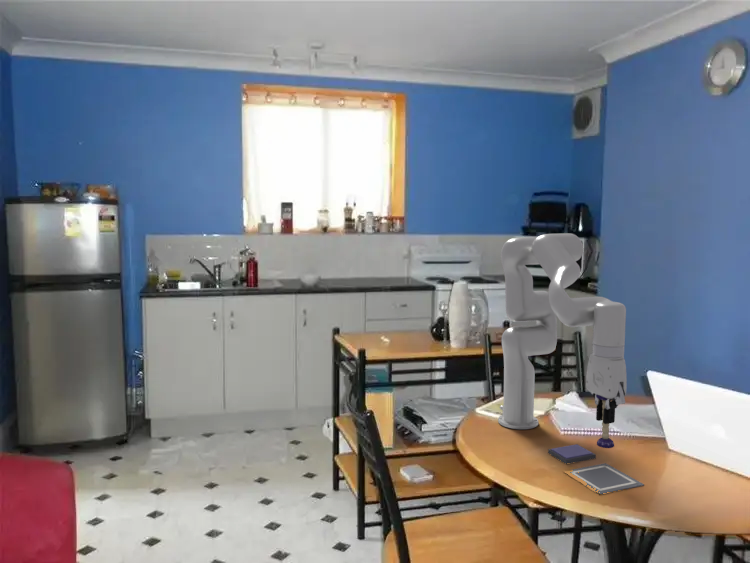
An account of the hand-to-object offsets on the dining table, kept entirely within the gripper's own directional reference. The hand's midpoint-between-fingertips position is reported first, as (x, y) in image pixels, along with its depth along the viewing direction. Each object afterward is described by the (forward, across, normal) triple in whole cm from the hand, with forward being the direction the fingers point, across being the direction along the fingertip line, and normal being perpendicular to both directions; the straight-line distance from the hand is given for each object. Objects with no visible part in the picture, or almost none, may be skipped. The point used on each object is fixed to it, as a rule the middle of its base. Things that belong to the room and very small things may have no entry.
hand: (605, 420), depth 164 cm
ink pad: (+16, -15, +2) cm, 22 cm away
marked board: (+16, 0, 0) cm, 16 cm away
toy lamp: (+7, 0, 0) cm, 7 cm away
